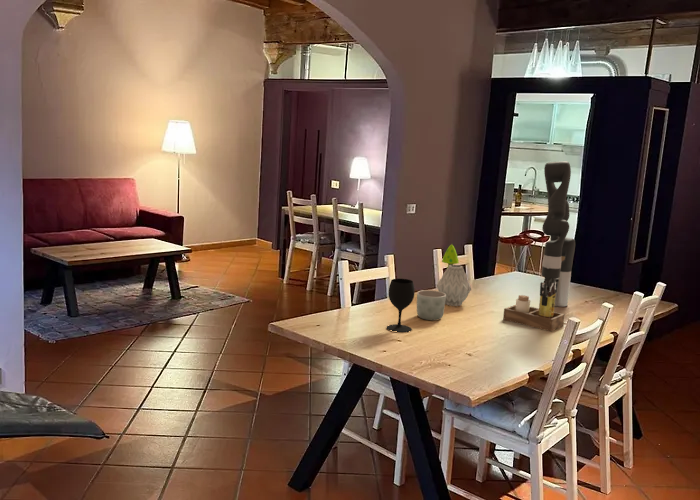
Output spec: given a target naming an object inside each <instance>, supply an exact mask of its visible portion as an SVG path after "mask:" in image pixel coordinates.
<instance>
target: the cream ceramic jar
mask: <svg viewBox="0 0 700 500" xmlns="http://www.w3.org/2000/svg"><path fill="white" fill-rule="evenodd" d="M529 298H530V297H529V295H523V294H520V295H518V298H516V299H515V305H516V308H515V311H519V312H523V313H529V310H530V307H531V300H530V299H529Z"/></svg>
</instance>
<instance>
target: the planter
mask: <svg viewBox="0 0 700 500" xmlns="http://www.w3.org/2000/svg"><path fill="white" fill-rule="evenodd" d="M445 299H446V294H445V293H443V292H439V291H438V290H431V289H422V290H419V291H417V292H416V314H417V316H418V317H419V318H420V319H423V320H426V321H438V320H441V319H443V316H444V313H445V308H446V307H445V305H446V304H445Z"/></svg>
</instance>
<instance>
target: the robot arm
mask: <svg viewBox="0 0 700 500" xmlns="http://www.w3.org/2000/svg"><path fill="white" fill-rule="evenodd" d="M571 173H572V169H571V165H570V162H569V161H567V160H563V161H549V162H545V164H544V173H543V174H544V181H545V184H546V185H545V187H546V192H547V193H546V194H547V209H548V210H547V215H546V217H545V219H544V222H543V224H542V232H543V234H544V235H546V236H549V237H550V240H549V241H548V240H547V241H546V242H545V244H544V251H543V253H544V254H543V257H542V258H543V259H542V265H541V266H542V267H541V274H540V275H541V277H543V278H544V281H543V282H542V281H541V282H540V284H539V297H540V296H542V305H543V306H547V301H548V295H549V293H550V292H551V289H552V287H553V284H554V287H555V291H556V297H555V306H554V307H567V306H568V305H569V304H568V303H569V294H570V286H571V277H572V268H573V261H574V256H575V249H576V240H575V239H574V238H571V237H567V235H568V233H569V231H570V223H569V222H568V221H569V219H570V205H569V204H570V203H569V202H568V199H567V195H568V192H569V188H570V187H569V186H570V181H571V175H572V174H571ZM555 183H560V184H559V186H558V188H557V187H556V184H555ZM562 257H564V259H563V260H562ZM552 278H553V279H554V283H553V282H552ZM547 289H549V290H547ZM542 291H543V292H542Z"/></svg>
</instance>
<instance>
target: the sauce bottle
mask: <svg viewBox="0 0 700 500" xmlns="http://www.w3.org/2000/svg"><path fill="white" fill-rule="evenodd" d="M552 282H553V283H554V279H553V278H552ZM547 290H549V289H547ZM542 292H543V291H542ZM555 297H556V291H555V287H554V284H553V287H552V289H551V292H550V293H549V295H548V301H547V306H543V305H542V296H540V295H539V304H538V305H539V306H538V309H539V313H538V315H539V316H541V317H545V318H549V319H552V318H553V315H554V312H555V307H556V306H555Z"/></svg>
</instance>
